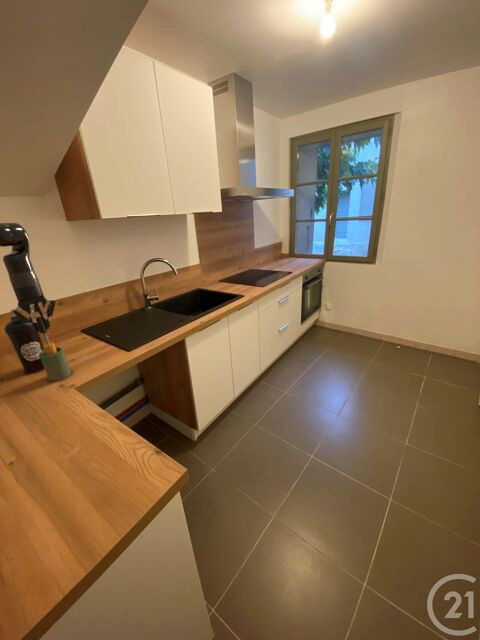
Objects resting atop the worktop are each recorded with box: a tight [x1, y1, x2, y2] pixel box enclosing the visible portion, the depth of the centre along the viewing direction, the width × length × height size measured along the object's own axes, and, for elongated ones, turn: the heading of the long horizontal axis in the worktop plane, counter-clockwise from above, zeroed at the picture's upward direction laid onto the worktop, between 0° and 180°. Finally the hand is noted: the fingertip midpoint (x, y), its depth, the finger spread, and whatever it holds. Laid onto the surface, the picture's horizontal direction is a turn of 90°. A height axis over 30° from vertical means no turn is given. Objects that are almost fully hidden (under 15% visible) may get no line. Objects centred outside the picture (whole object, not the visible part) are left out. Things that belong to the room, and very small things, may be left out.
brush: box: [35, 315, 57, 356], centre depth 98 cm, size 3×3×16 cm
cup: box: [39, 346, 72, 382], centre depth 102 cm, size 8×8×11 cm
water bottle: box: [3, 315, 45, 374], centre depth 107 cm, size 10×10×23 cm
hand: (43, 329), depth 97 cm, fingers closed on brush, 2 cm apart
